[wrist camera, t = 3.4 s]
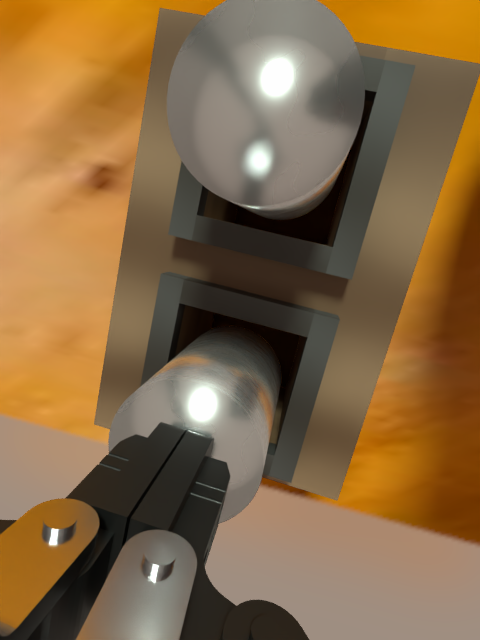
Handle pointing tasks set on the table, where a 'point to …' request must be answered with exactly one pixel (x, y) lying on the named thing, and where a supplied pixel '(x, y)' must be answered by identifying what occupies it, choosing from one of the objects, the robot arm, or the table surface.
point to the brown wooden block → (288, 257)
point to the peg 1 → (267, 103)
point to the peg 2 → (214, 404)
